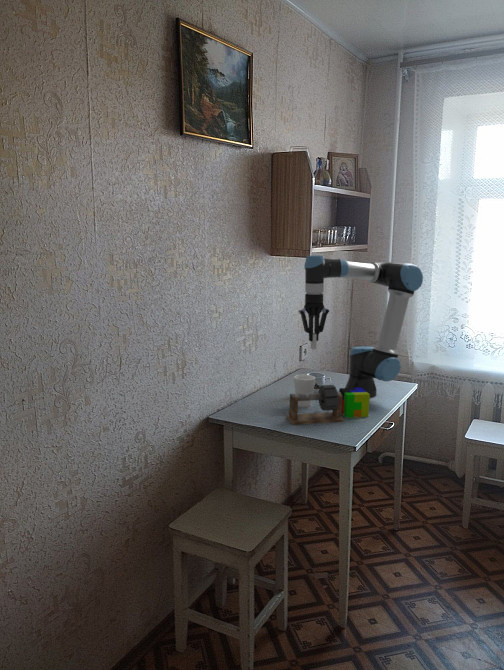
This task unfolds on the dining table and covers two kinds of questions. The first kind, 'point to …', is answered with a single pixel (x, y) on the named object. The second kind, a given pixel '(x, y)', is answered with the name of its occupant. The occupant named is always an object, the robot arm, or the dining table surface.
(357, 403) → the puzzle toy
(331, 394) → the dark gray notched block
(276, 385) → the dining table surface
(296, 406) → the pipe rig
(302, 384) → the foam cup
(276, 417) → the dining table surface
